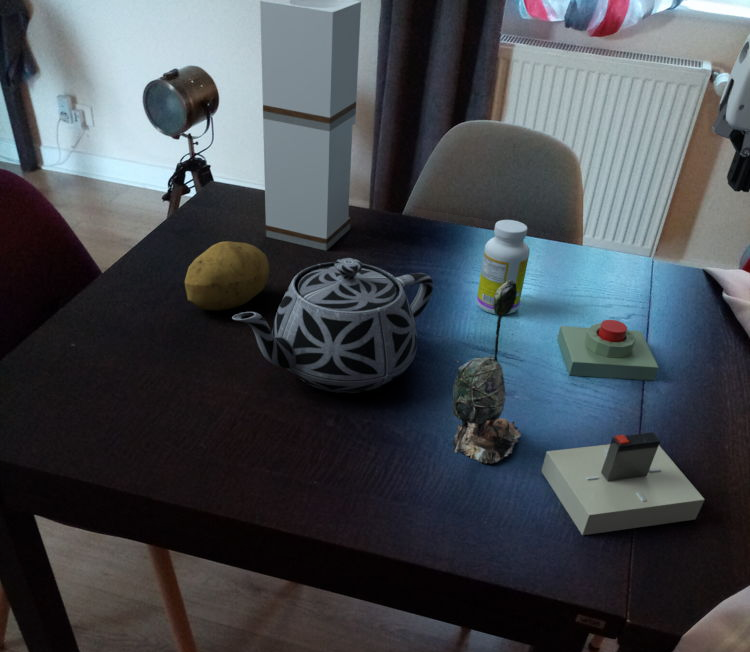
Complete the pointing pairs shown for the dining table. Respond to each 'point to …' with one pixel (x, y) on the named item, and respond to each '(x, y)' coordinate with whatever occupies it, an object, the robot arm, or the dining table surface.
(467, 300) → the dining table surface
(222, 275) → the potato
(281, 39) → the banded white pillar
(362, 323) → the teapot
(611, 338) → the cutoff button
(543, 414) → the dining table surface
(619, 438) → the dark grey rectangular block
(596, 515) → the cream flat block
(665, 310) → the dining table surface
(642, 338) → the cutoff housing
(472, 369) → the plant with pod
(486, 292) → the supplement bottle
